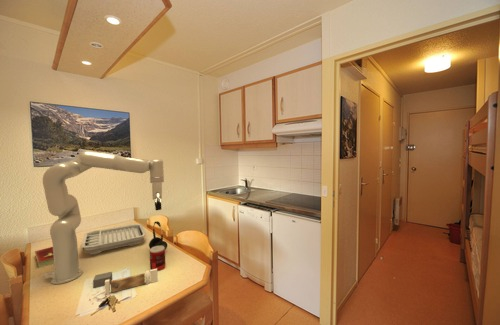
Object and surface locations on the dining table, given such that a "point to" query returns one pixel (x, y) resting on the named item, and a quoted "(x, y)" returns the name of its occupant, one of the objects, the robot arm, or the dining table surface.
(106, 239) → the dish rack
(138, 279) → the door
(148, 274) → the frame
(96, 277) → the doorstop
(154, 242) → the headphones
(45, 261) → the hardcover book
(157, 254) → the canned food
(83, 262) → the dining table surface
